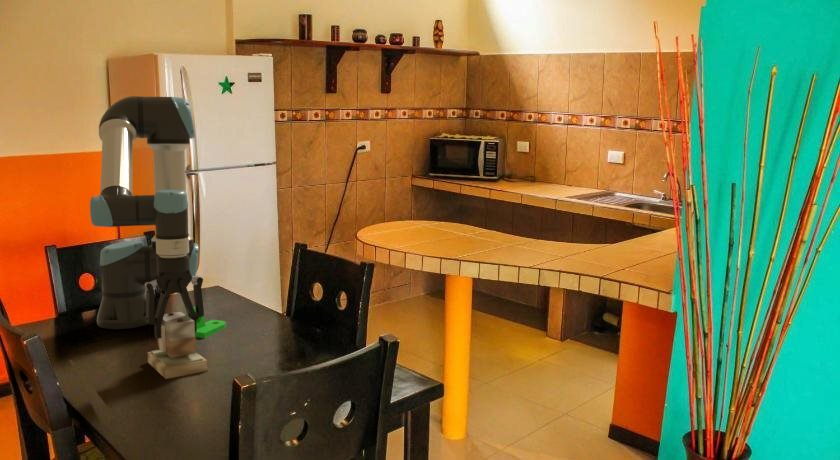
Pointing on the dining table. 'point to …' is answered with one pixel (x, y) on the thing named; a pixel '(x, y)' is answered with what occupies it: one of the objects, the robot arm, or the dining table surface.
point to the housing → (179, 334)
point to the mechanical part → (208, 327)
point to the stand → (176, 364)
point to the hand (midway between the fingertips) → (176, 348)
